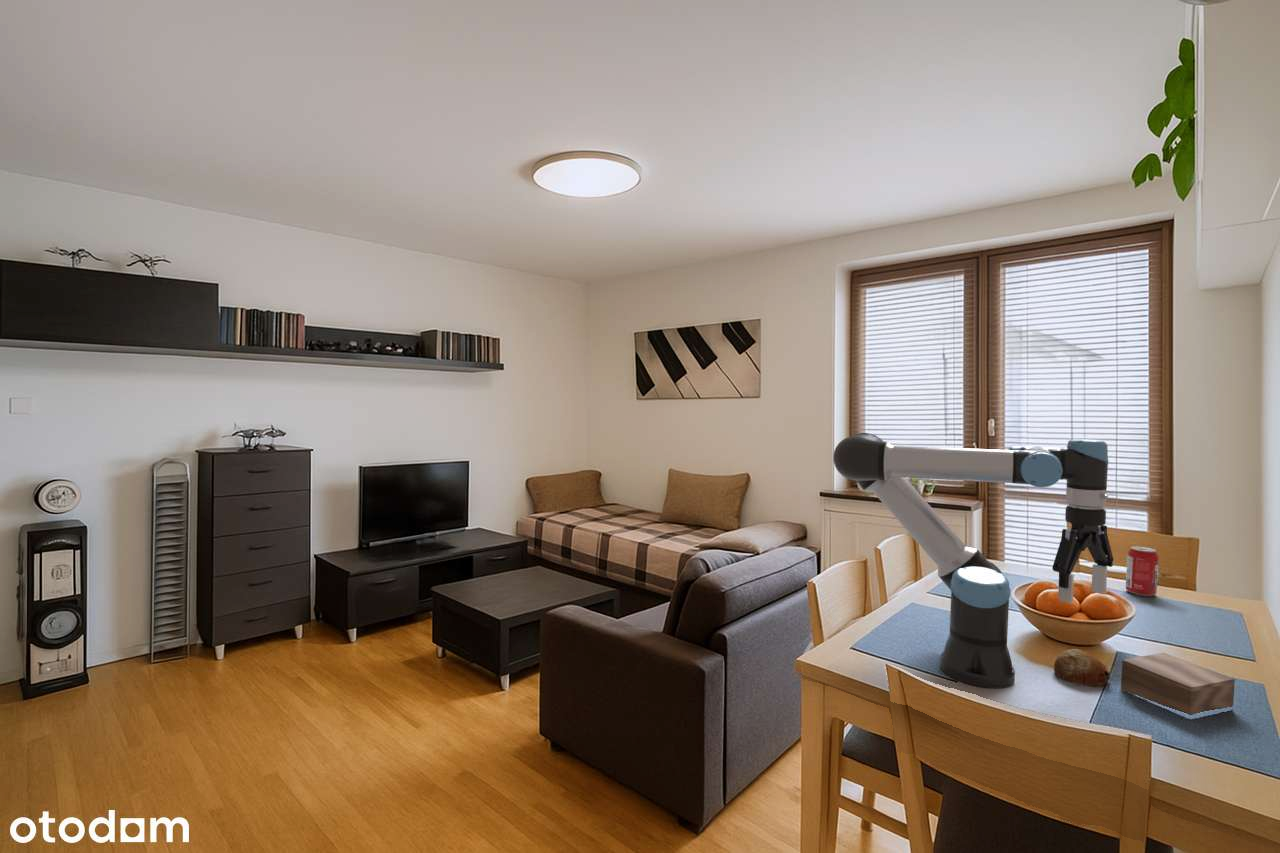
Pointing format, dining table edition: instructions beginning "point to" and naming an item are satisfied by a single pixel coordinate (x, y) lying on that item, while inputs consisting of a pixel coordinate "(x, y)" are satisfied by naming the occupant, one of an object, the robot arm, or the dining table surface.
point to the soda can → (1142, 571)
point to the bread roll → (1081, 668)
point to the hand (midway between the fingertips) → (1082, 597)
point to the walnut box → (1177, 683)
